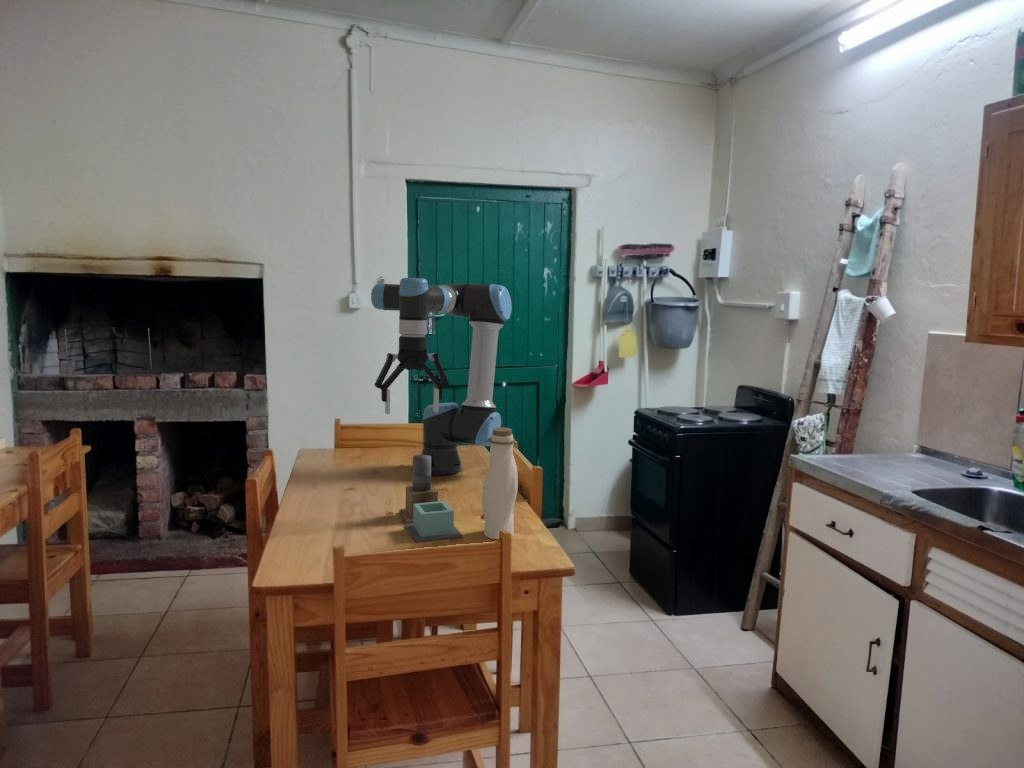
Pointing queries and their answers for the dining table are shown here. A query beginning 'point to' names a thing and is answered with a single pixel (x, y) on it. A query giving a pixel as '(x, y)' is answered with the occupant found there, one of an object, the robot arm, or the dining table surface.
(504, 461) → the water bottle
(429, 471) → the stand
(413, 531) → the mat
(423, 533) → the teal square planter
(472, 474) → the dining table surface
